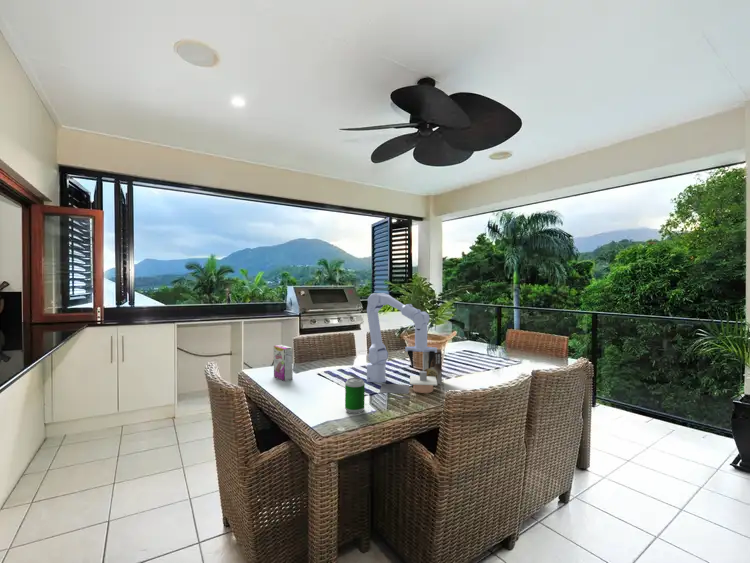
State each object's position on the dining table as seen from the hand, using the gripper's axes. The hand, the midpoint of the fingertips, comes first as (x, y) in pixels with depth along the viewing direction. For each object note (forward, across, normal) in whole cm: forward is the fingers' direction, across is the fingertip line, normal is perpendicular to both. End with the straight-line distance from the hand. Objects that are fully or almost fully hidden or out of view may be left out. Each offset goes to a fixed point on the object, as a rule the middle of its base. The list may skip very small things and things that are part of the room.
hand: (420, 367), depth 163 cm
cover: (+6, +1, -2) cm, 6 cm away
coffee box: (+10, +6, +11) cm, 17 cm away
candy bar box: (+11, -70, +9) cm, 71 cm away
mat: (+10, -12, -2) cm, 16 cm away
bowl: (+10, +1, -2) cm, 10 cm away
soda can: (+11, -26, -30) cm, 41 cm away
